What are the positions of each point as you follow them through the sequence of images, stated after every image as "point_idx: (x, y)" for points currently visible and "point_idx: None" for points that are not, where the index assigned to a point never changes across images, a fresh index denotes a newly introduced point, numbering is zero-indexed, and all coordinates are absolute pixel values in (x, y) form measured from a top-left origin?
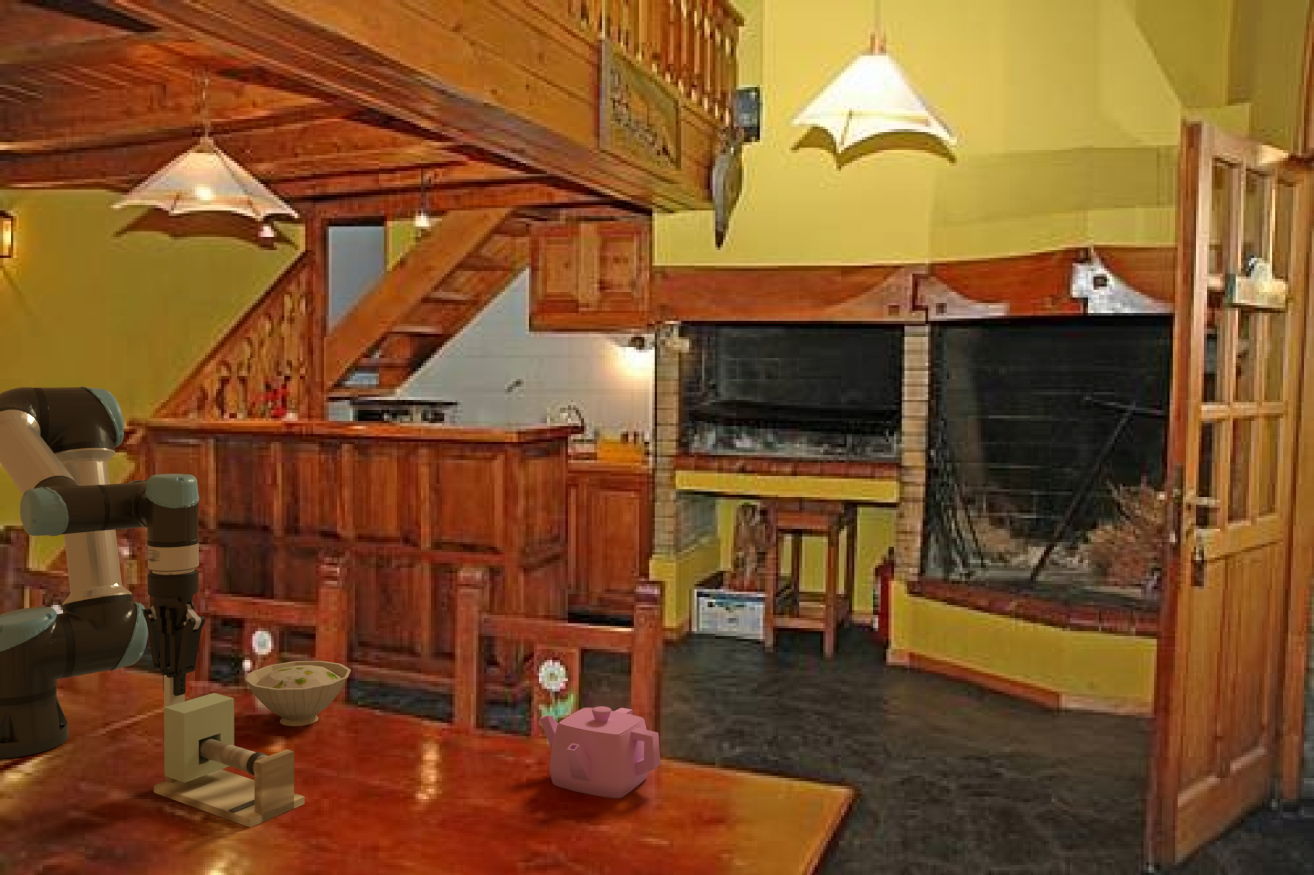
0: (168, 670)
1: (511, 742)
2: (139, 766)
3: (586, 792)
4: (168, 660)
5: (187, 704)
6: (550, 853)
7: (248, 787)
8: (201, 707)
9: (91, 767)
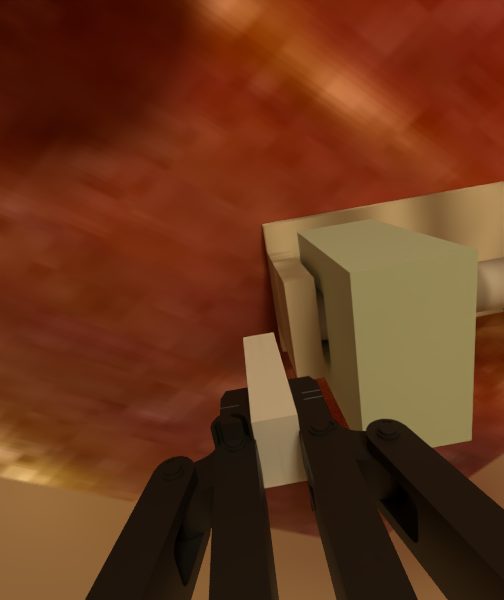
0: (263, 484)
1: None
2: (120, 311)
3: None
4: (269, 531)
5: (400, 400)
6: None
7: (442, 228)
8: (467, 380)
9: (62, 377)
